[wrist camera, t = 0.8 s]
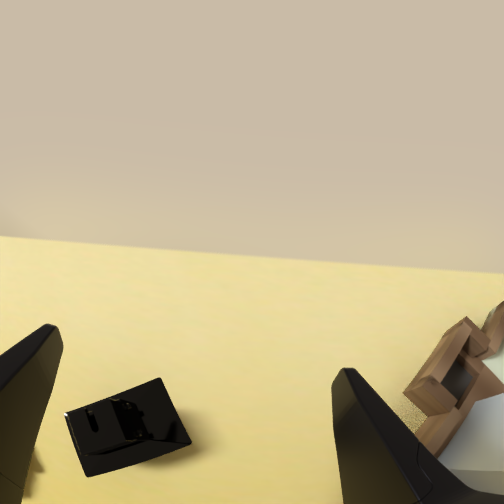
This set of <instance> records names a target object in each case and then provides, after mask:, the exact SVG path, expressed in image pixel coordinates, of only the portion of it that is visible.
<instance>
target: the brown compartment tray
mask: <svg viewBox="0 0 504 504" xmlns="http://www.w3.org/2000/svg"><path fill="white" fill-rule="evenodd" d="M502 393H504V301H503V302H502V303H500V304H499V305H498V306H497V307H495V308H494V309H493V310H491V311H490V312H489V315H488V317H487V319H486V321H485V323H484V325H483V327H482V329H481V330H480V329H479V328H478V327H477V326H476V325H475V324H474V323H473V322H472V321H471V320H470V319H469V318H468V317H467V316H466V317H465V318H463V319H462V320H461V321H459V322H458V323H457V324H455V325H454V326H453V327H451V328H450V329H448V330H447V331H446V332H445V334H444V335H443V337H442V339H441V340H440V342H439V343H438V345H437V346H436V348H435V349H434V351H433V352H432V354H431V355H430V357H429V358H428V360H427V361H426V362H425V364H424V365H423V367H422V368H421V369H420V371H419V372H418V374H417V375H416V376H415V378H414V379H413V380H412V382H411V383H410V384H409V386H408V387H407V388H406V389H405V391H404V392H403V394H404V395H405V396H406V397H407V398H408V399H409V400H410V401H412V402H413V403H414V404H415V405H416V406H417V407H418V408H419V409H420V410H421V411H422V412H423V413H424V414H426V415H427V416H428V417H427V419H426V420H425V421H424V423H423V424H422V425H421V427H420V428H419V429H418V430H417V432H416V433H415V434H414V435H415V436H416V437H417V438H418V439H419V441H421V443H422V444H423V445H424V446H425V447H426V448H427V449H428V450H429V451H430V452H431V453H432V454H433V455H434V456H435V458H437V459H438V457H439V456H440V455H441V453H442V452H443V451H444V449H445V448H446V446H447V445H448V444H449V442H450V441H451V439H452V438H453V436H454V435H455V434H456V432H457V431H458V429H459V428H460V426H461V425H462V423H463V421H464V420H465V418H466V417H467V415H468V413H469V412H470V410H471V409H472V407H473V405H474V403H475V402H476V401H480V400H483V399H486V398H489V397H493V396H496V395H499V394H502Z"/></svg>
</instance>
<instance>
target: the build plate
mask: <svg viewBox="0 0 504 504" xmlns="http://www.w3.org/2000/svg"><path fill="white" fill-rule="evenodd" d="M64 416H65V419H66V422H67V426H68V429H69V432H70V435H71V438H72V441H73V444H74V447H75V449H76V452H77V455H78V458H79V460H80V463H81V465H82V468H83V470H84V473H85V475H86V477H92V476H96V475H100V474H104V473H107V472H111V471H115V470H118V469H122V468H125V467H128V466H132V465H135V464H138V463H141V462H144V461H147V460H150V459H153V458H156V457H159V456H162V455H164V454H167V453H170V452H172V451H175V450H178V449H180V448H183V447H185V446H188V445H190V444H191V443H192V441H191V439H190V437H189V435H188V434H187V432H186V430H185V428H184V426H183V424H182V422H181V420H180V418H179V416H178V414H177V412H176V409H175V407H174V405H173V403H172V401H171V399H170V397H169V395H168V392H167V390H166V388H165V386H164V384H163V381H162V379H161V378H156V379H154V380H151V381H149V382H146V383H144V384H141V385H139V386H136V387H134V388H131V389H129V390H126V391H124V392H121V393H119V394H116V395H113V396H111V397H108V398H106V399H103V400H100V401H97V402H95V403H92V404H89V405H86V406H84V407H81V408H78V409H75V410H72V411H69V412H66V413H65V414H64Z"/></svg>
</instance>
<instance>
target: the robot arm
mask: <svg viewBox="0 0 504 504" xmlns="http://www.w3.org/2000/svg"><path fill="white" fill-rule="evenodd" d="M62 352H63V341H62V338H61V335H60V332H59V329H58V327H57V326H55V325H51V324H45V325H43V326H41V327H40V328H39V329H37V330H36V331H34V332H33V333H31V334H30V335H28V336H27V337H25V338H24V339H23V340H21V341H20V342H18V343H17V344H16V345H14V346H13V347H11V348H10V349H8V350H7V351H6V352H4V353H3V354H1V355H0V504H21V502H22V497H23V492H24V490H23V489H24V486H25V482H26V477H27V473H28V469H29V465H30V461H31V457H32V453H33V449H34V446H35V442H36V439H37V435H38V432H39V429H40V426H41V422H42V419H43V416H44V413H45V410H46V407H47V404H48V401H49V398H50V396H51V393H52V390H53V386H54V382H55V378H56V374H57V370H58V367H59V363H60V359H61V356H62ZM331 391H332V412H333V430H334V438H335V444H336V451H337V458H338V465H339V472H340V479H341V487H342V495H343V503H344V504H504V495H501V494H494V493H488V492H482V491H477V490H474V489H472V488H470V487H468V486H467V485H466V484H464V483H463V482H462V481H461V480H460V479H459V478H457V477H456V476H455V475H454V474H453V473H452V472H451V471H450V470H448V469H447V468H446V467H445V466H444V465H443V464H442V463H441V462H440V461H439V460H438V459H437V458H435V456H434V455H433V454H432V453H431V452H430V451H429V450H428V449H427V448H426V447H425V446H424V445H423V444H422V443H421V441H419V439H418V438H417V437H416V436H415V435H414V434H413V433H412V432H411V430H410V429H409V428H408V427H407V426H406V425H405V424H404V423H403V421H402V420H401V419H400V418H399V417H398V416H397V415H396V414H395V413H394V411H393V410H392V409H391V408H390V407H389V406H388V405H387V404H386V403H385V401H384V400H383V399H382V398H381V397H380V396H379V395H378V394H377V393H376V391H375V390H374V389H373V388H372V387H371V386H370V385H369V384H368V383H367V381H366V380H365V379H364V378H363V377H362V376H361V375H360V374H359V373H358V371H357V370H356V369H354V368H342V369H341V370H340V371H339V373H338V375H337V376H336V378H335V379H334V381H333V383H332V387H331Z"/></svg>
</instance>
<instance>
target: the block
mask: <svg viewBox="0 0 504 504" xmlns="http://www.w3.org/2000/svg"><path fill="white" fill-rule="evenodd" d="M438 460H439V461H440V462H441V463H442V464H443V465H444V466H445V467H446V468H447V469H448V470H450V471H451V472H452V473H453V474H454V475H455V476H456V477H457V478H459V479H460V480H461V481H462V482H463V483H464V484H466V485H467V486H468V487H470V488H472V489H474V490H477V491H482V492H488V493H494V494H501V495H504V393H502V394H499V395H496V396H493V397H489V398H486V399H483V400H480V401H476V402H475V403H474V405H473V407H472V409H471V410H470V412H469V413H468V415H467V417H466V418H465V420H464V421H463V423H462V425H461V426H460V428H459V429H458V431H457V432H456V434H455V435H454V436H453V438H452V439H451V441H450V442H449V444H448V445H447V446H446V448H445V449H444V451H443V452H442V453H441V455H440V456H439V457H438Z"/></svg>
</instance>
